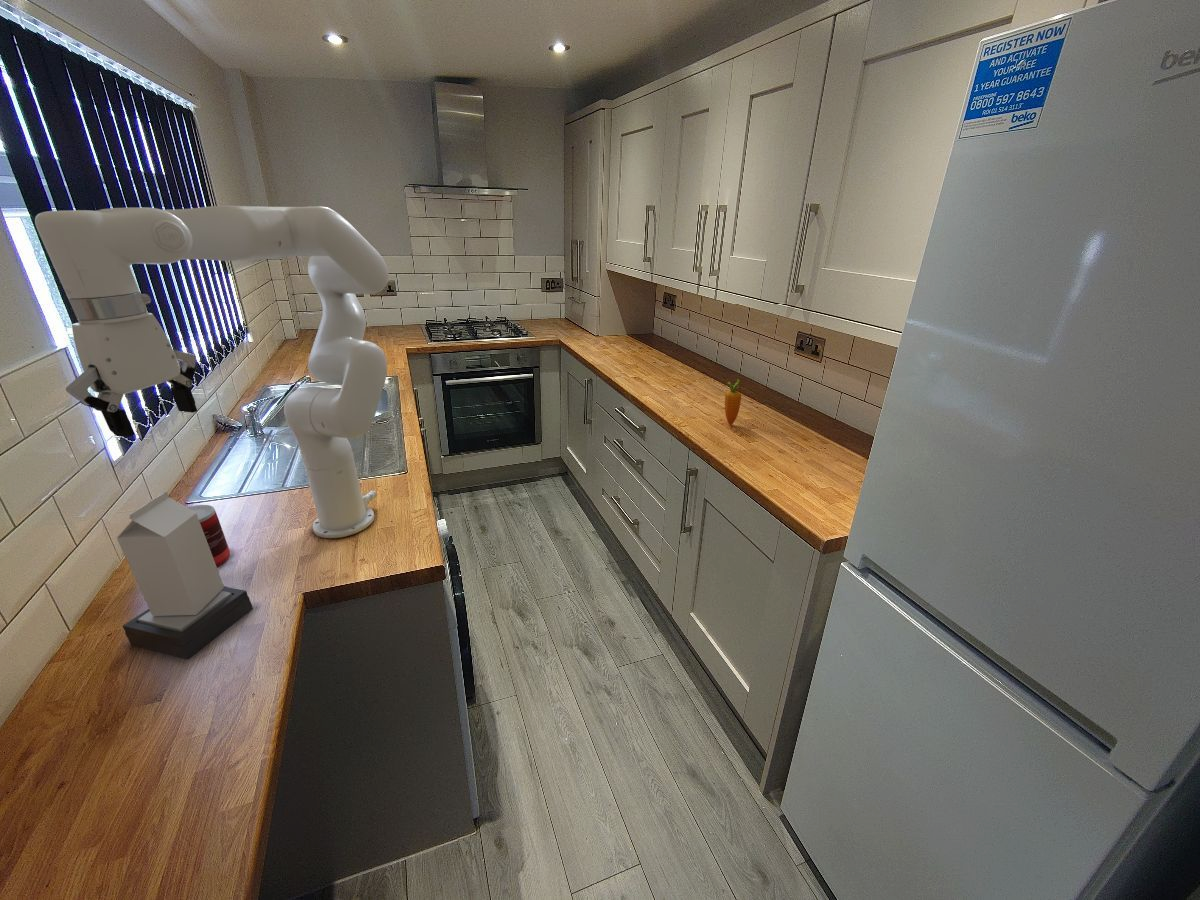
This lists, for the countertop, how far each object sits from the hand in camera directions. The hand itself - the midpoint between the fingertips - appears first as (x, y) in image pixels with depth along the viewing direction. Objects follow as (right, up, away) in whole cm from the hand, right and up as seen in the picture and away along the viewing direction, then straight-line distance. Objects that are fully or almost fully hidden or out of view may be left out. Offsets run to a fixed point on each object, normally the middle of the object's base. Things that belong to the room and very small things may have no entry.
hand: (158, 422), depth 80 cm
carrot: (+110, +4, +90) cm, 142 cm away
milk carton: (-1, -30, +8) cm, 31 cm away
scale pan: (-1, -31, +7) cm, 32 cm away
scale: (-1, -34, +9) cm, 35 cm away
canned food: (-12, -27, +26) cm, 39 cm away
